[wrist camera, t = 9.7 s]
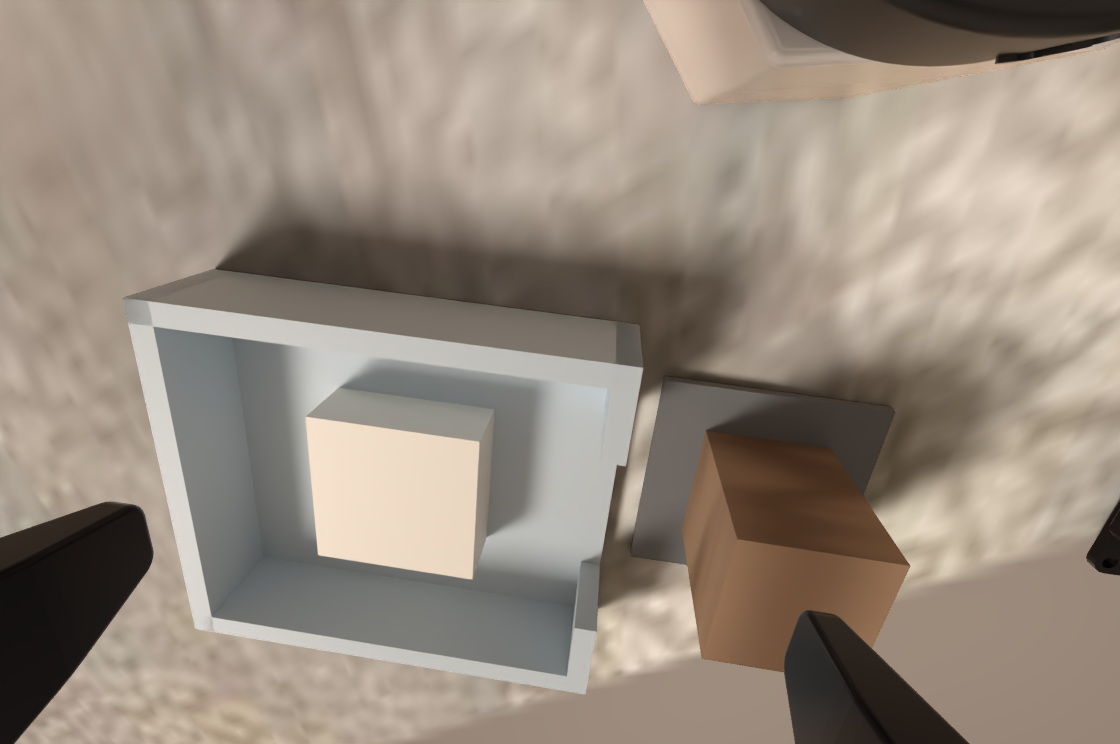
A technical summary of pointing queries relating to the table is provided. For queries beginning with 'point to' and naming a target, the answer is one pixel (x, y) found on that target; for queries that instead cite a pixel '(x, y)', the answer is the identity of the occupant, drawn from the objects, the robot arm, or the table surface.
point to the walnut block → (781, 548)
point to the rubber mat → (745, 413)
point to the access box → (388, 468)
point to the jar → (865, 42)
